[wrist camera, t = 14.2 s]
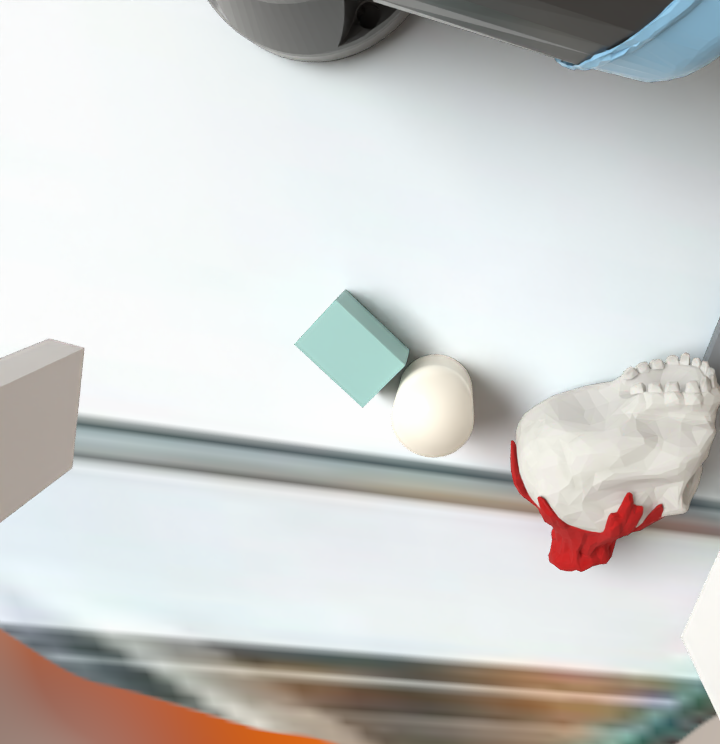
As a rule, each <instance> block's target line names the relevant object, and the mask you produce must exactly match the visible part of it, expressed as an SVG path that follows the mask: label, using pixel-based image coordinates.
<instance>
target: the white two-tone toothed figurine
mask: <svg viewBox="0 0 720 744" xmlns="http://www.w3.org/2000/svg"><path fill="white" fill-rule="evenodd" d="M719 405H720V386H719V384H718V383H717V378H716V374H715V370H714V369H713V368H712V367H711V368H710V366H709V363H708V361H702V363H701V360H700V358H694V359H693V360H692V364H691V365H690V355H689V354H688V353H686V352H685V353H684V354H682V355H681V357H680V361H679V359H678V356H675V355H670V356H668V357H667V359H666V361H665V364H664V363H663V361H662V360H661V359H655V360H652V361H651V362H650V363H649V365H648V363H647V362H642V363H639V364H638V365H637V366H636V367H635V369H634V368H633V367H629V368H627V369H626V370H625V371H623V374H622V376H620V377H619V378H617V379H616V380H614V381H611V382H604V383H598V384H593V385H587V386H583V387H580V388H577V389H574V390H570V391H567V392H563V393H560V394H556V395H553V396H551V397H550V398H548V399H546V400H544V401H543V402H541V403H539V404H537V405H536V406H534V407H533V408H532V409H530V410H529V411H528V412H527V413H525V414H524V415H523V417H522V418H521V420H520V422H519V424H518V426H517V429H516V444H515V442H514V441H513V440H511V457H510V459H511V473H512V477H513V481H514V485H515V486H516V488H517V490H518V492H519V493H520V494H521V495H522V496H523V497H524V498H526V499H527V500H528V501H530V502H531V503H532V504H533V505H535V506H536V507H537V508H538V509H539V512H540V514H541V515H542V517H543V519H544V521H545V522H546V523H548V524H549V525H551V526H552V527H553V530H552V533H551V535H552V544H551V549H550V553H549V555H548V556H549V561H550V563H552V564H553V565H555V566H556V567H557V568H559V569H560V570H564V571H574V570H578V571H580V572H582V571H585V570H587V569H589V568H590V567H592V566H595V565H599V564H606V563H607V562H608V561H609V559H610V558H611V557H612V553H613V549H614V546H615V542H616V540H617V539H618V538H621V537H623V536H626V535H629V534H630V533H631V532H635V531H640V530H642V529H644V528H645V527H647V526H649V525H651V524H652V523H654V522H656V521H658V520H660V519H662V518H663V517H665V516H669V515H678V514H682V513H685V512H687V511H688V509H689V505H690V501H691V499H692V498H693V496H694V494H695V492H696V490H697V487H698V484H699V482H700V478H701V474H702V469H703V467H702V463H703V462H704V461H705V460H706V458H707V457H708V456H709V451H710V447H711V444H712V442H713V439H714V437H715V435H716V429H715V419H716V413H717V409H718V407H719Z"/></svg>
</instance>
